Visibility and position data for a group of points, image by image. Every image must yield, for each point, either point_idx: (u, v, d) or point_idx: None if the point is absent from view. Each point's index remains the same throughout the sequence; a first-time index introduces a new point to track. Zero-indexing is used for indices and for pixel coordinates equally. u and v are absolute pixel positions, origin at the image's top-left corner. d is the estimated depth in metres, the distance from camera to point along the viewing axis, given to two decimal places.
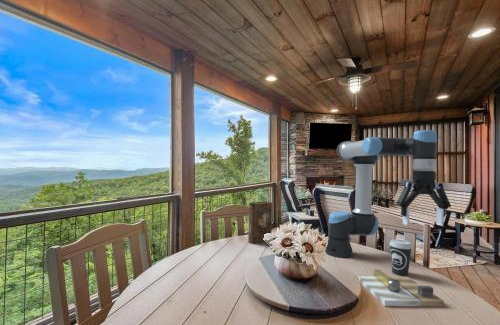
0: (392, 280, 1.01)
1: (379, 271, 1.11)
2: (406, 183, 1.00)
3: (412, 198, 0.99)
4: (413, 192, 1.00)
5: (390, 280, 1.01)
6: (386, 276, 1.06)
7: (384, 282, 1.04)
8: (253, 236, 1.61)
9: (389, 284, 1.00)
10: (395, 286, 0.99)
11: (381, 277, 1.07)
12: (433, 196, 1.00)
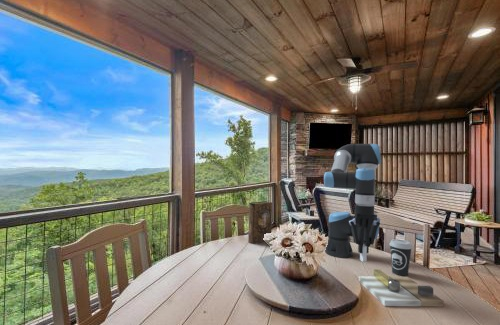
0: (392, 280, 1.01)
1: (379, 271, 1.11)
2: (349, 223, 1.09)
3: (361, 234, 1.08)
4: (359, 228, 1.09)
5: (390, 280, 1.01)
6: (386, 276, 1.06)
7: (384, 282, 1.04)
8: (253, 236, 1.61)
9: (389, 284, 1.00)
10: (395, 286, 0.99)
11: (381, 277, 1.07)
12: (366, 230, 1.09)
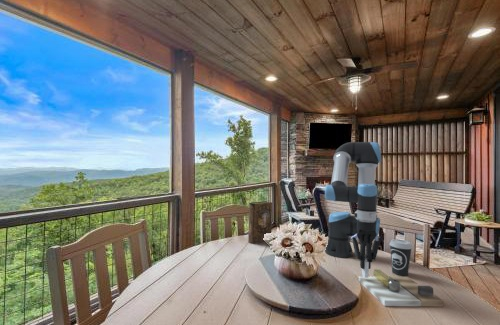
0: (392, 280, 1.01)
1: (379, 271, 1.11)
2: (351, 238, 1.09)
3: (363, 250, 1.08)
4: (361, 243, 1.09)
5: (390, 280, 1.01)
6: (386, 276, 1.06)
7: (384, 282, 1.04)
8: (253, 236, 1.61)
9: (389, 284, 1.00)
10: (395, 286, 0.99)
11: (381, 277, 1.07)
12: (368, 246, 1.09)
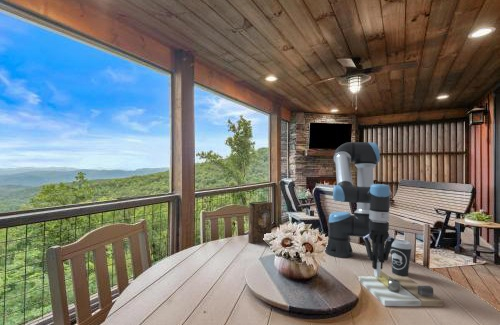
0: (392, 280, 1.01)
1: None
2: (364, 239, 1.09)
3: (376, 250, 1.08)
4: (373, 244, 1.09)
5: (390, 280, 1.01)
6: (386, 276, 1.06)
7: (384, 282, 1.04)
8: (253, 236, 1.61)
9: (389, 284, 1.00)
10: (395, 286, 0.99)
11: (381, 277, 1.07)
12: (380, 246, 1.09)
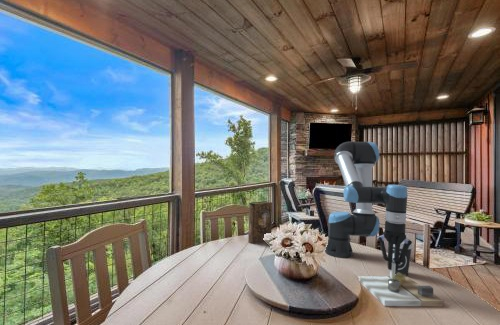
0: (393, 280, 1.01)
1: (400, 274, 1.08)
2: (378, 238, 1.10)
3: (390, 251, 1.07)
4: (389, 244, 1.09)
5: (391, 279, 1.02)
6: (398, 278, 1.04)
7: None
8: (253, 236, 1.61)
9: (388, 282, 1.02)
10: (391, 284, 0.99)
11: None
12: (396, 247, 1.07)
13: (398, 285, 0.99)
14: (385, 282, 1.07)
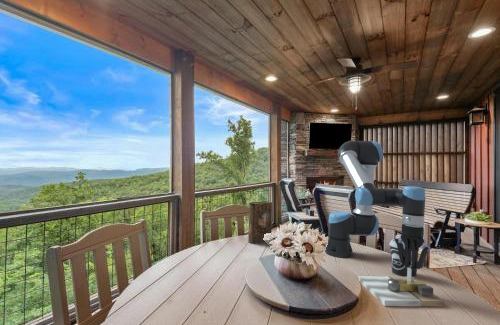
0: (395, 280, 1.01)
1: (419, 282, 1.01)
2: None
3: (406, 255, 1.04)
4: None
5: (393, 279, 1.02)
6: (408, 282, 1.01)
7: None
8: (253, 236, 1.61)
9: None
10: (388, 283, 1.01)
11: None
12: None
13: (394, 285, 0.99)
14: (385, 282, 1.07)
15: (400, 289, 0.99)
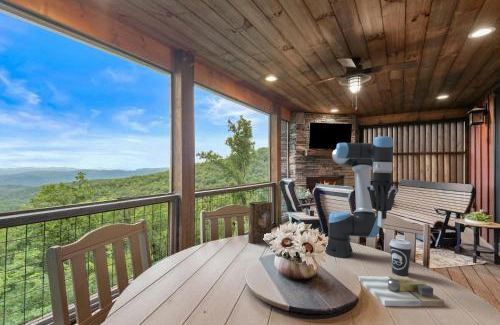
0: (395, 280, 1.01)
1: (419, 282, 1.01)
2: None
3: (377, 200, 1.13)
4: None
5: (393, 279, 1.02)
6: (408, 282, 1.01)
7: None
8: (253, 236, 1.61)
9: None
10: (388, 283, 1.01)
11: None
12: None
13: (394, 285, 0.99)
14: (385, 282, 1.07)
15: (400, 289, 0.99)
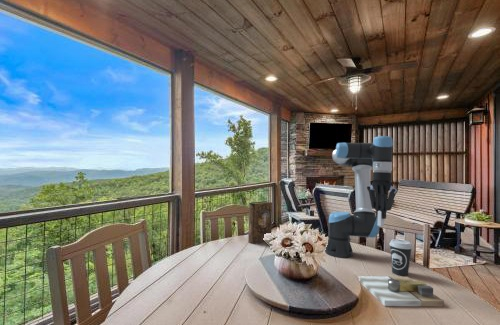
0: (395, 280, 1.01)
1: (419, 282, 1.01)
2: None
3: (376, 199, 1.13)
4: None
5: (393, 279, 1.02)
6: (408, 282, 1.01)
7: None
8: (253, 236, 1.61)
9: None
10: (388, 283, 1.01)
11: None
12: None
13: (394, 285, 0.99)
14: (385, 282, 1.07)
15: (400, 289, 0.99)
